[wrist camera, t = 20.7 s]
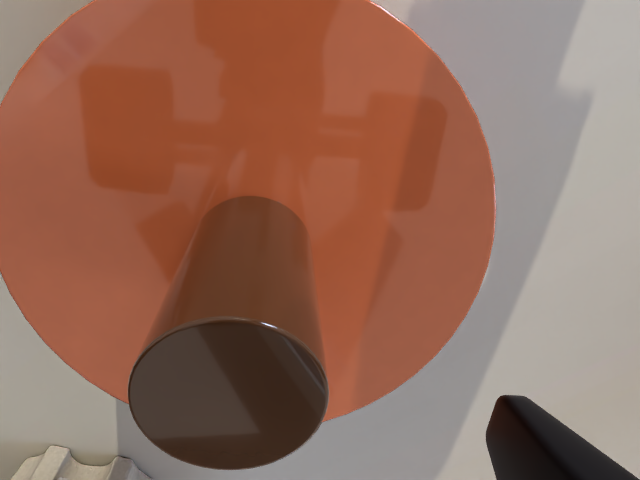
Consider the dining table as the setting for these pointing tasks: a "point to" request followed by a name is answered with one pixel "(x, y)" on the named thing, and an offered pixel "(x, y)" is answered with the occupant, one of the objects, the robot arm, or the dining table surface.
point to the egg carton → (75, 468)
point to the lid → (242, 213)
